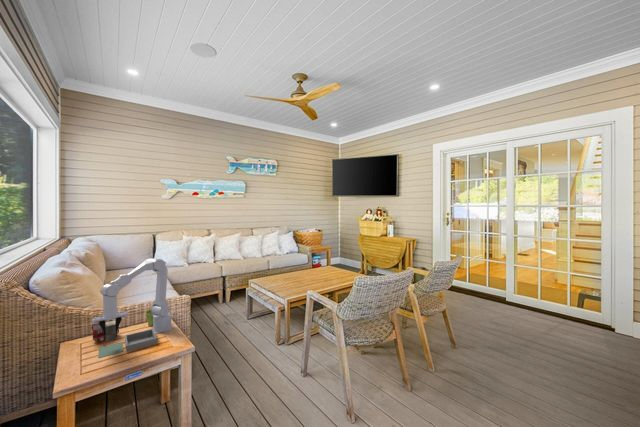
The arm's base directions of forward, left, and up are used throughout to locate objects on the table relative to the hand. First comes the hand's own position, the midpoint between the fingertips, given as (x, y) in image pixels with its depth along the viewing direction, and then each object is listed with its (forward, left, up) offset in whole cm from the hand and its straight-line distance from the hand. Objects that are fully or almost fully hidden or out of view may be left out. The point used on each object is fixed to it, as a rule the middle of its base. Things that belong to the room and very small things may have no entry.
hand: (110, 333), depth 143 cm
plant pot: (-22, -23, -9) cm, 33 cm away
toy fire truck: (+2, -17, -9) cm, 19 cm away
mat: (0, 0, -9) cm, 9 cm away
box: (0, 0, -2) cm, 2 cm away
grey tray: (-13, 0, -9) cm, 16 cm away
